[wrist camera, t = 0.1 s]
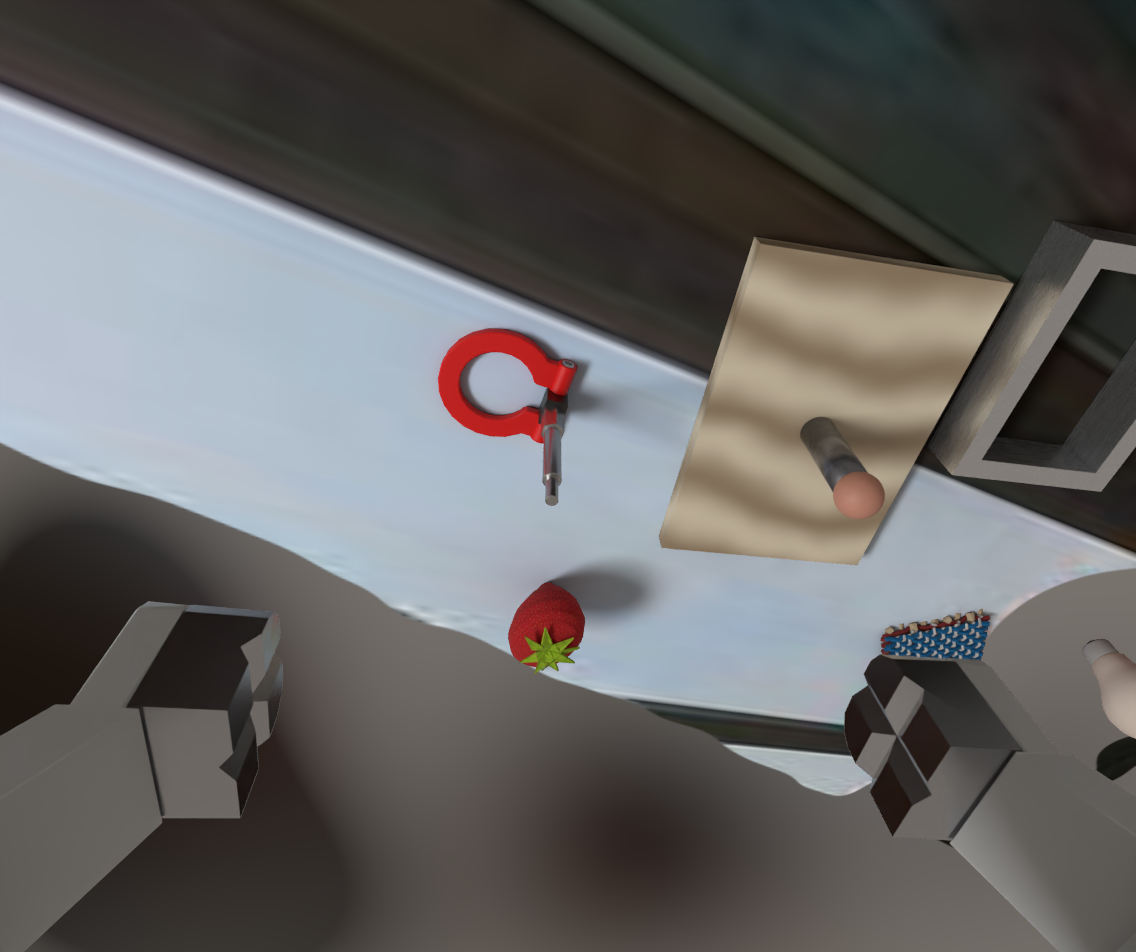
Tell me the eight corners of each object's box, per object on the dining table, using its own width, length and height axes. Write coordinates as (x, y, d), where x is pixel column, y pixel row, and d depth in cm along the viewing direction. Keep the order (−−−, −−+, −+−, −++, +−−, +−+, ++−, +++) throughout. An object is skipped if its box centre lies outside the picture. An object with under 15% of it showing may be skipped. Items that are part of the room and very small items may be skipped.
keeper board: (754, 236, 45) (812, 302, 36) (1001, 275, 48) (1112, 345, 39) (658, 536, 60) (683, 635, 51) (850, 553, 63) (905, 650, 54)
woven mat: (972, 668, 75) (982, 683, 73) (873, 685, 75) (880, 701, 74) (986, 603, 68) (997, 618, 67) (877, 623, 69) (886, 638, 68)
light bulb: (1045, 662, 74) (1117, 756, 65) (1079, 619, 70) (1160, 713, 61) (1101, 663, 74) (1180, 757, 66) (1138, 621, 71) (1227, 715, 62)
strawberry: (494, 596, 63) (490, 688, 55) (542, 545, 60) (545, 635, 52) (546, 621, 66) (550, 712, 58) (595, 573, 62) (606, 662, 54)
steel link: (1053, 220, 46) (1093, 239, 42) (1220, 249, 47) (1272, 269, 44) (926, 445, 56) (951, 474, 53) (1068, 462, 58) (1101, 491, 55)
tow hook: (428, 410, 52) (544, 445, 54) (395, 516, 41) (541, 555, 43) (457, 309, 48) (582, 351, 49) (428, 399, 37) (590, 448, 39)
